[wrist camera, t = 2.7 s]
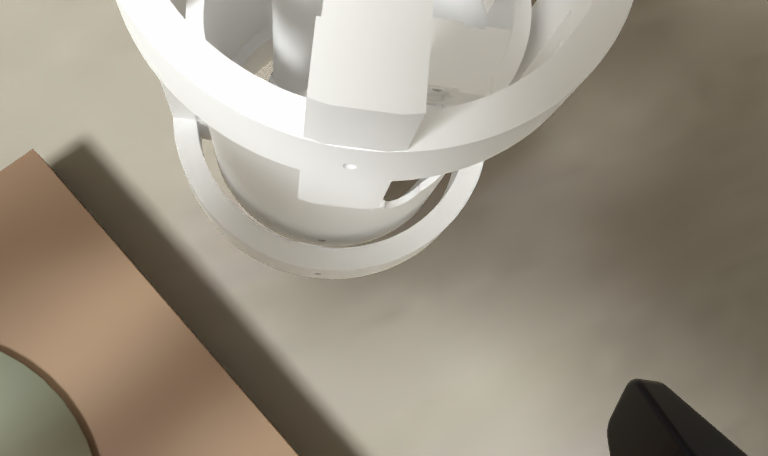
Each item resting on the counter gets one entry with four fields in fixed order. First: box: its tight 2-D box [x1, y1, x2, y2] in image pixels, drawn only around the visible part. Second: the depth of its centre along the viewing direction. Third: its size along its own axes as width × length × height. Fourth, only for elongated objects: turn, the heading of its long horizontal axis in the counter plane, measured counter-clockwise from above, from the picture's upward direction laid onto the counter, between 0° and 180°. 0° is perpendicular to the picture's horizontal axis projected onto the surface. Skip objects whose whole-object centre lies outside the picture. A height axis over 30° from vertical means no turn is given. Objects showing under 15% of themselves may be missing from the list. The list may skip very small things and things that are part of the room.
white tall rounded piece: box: [116, 0, 634, 279], centre depth 15 cm, size 7×7×15 cm
